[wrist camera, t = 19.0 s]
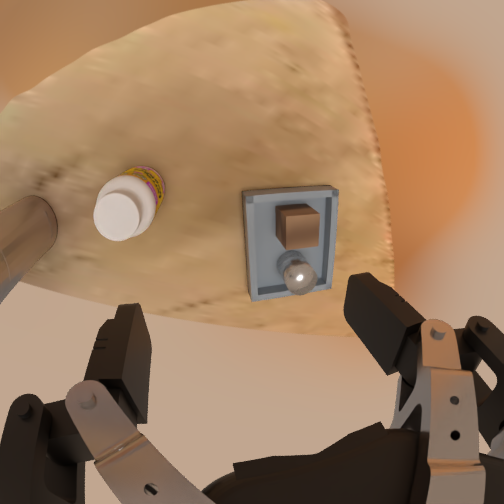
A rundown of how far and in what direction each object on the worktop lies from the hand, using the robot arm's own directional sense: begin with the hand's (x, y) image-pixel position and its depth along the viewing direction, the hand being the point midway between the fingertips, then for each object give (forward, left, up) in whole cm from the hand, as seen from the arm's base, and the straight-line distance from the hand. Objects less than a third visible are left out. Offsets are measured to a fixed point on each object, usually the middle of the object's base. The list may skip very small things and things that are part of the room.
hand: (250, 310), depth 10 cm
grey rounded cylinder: (+11, -14, -28) cm, 33 cm away
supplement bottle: (-9, 0, -29) cm, 31 cm away
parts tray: (+11, -10, -29) cm, 32 cm away
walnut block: (+11, -7, -28) cm, 31 cm away
